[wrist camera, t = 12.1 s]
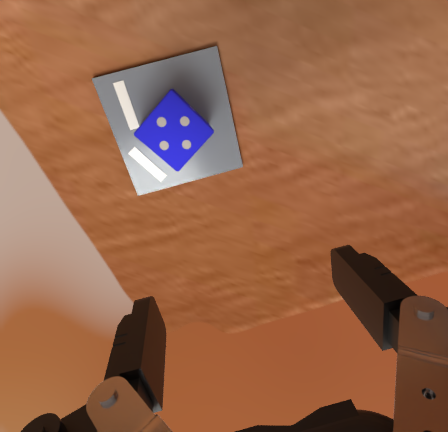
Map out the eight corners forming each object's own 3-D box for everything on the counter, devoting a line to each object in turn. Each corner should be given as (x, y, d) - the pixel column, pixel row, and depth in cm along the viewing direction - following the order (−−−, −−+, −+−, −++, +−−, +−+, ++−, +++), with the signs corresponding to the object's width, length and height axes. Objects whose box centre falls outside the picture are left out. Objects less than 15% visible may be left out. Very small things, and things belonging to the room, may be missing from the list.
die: (209, 124, 30) (215, 131, 26) (177, 159, 31) (177, 173, 27) (172, 87, 29) (171, 88, 24) (139, 126, 30) (132, 134, 25)
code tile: (216, 46, 28) (217, 45, 28) (241, 165, 33) (243, 167, 33) (93, 78, 28) (91, 78, 27) (138, 193, 33) (137, 196, 32)
